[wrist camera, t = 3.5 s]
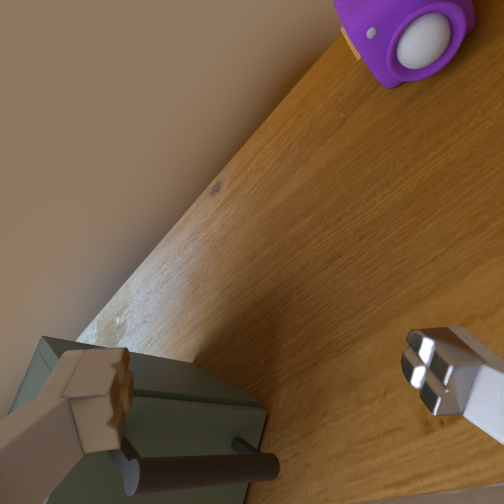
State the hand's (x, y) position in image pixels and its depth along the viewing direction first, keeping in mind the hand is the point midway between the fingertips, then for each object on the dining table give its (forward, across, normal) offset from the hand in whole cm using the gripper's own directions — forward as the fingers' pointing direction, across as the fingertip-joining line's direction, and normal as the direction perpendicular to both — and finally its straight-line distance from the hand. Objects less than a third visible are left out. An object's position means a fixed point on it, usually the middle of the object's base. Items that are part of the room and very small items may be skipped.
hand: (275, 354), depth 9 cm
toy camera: (+30, -21, -12) cm, 39 cm away
